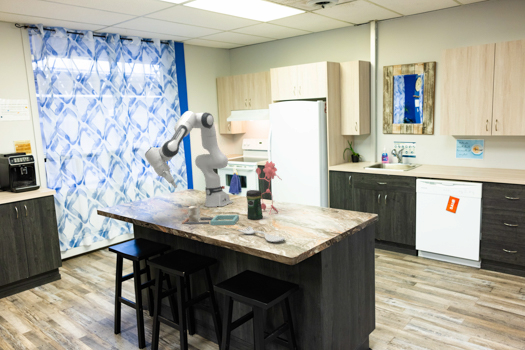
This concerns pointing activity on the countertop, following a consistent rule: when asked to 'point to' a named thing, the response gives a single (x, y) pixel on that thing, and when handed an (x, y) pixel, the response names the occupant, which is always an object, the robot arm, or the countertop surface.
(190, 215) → the cream block
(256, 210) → the coffee jar
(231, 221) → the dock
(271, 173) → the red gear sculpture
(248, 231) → the spoon
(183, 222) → the channel
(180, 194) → the countertop surface
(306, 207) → the countertop surface
